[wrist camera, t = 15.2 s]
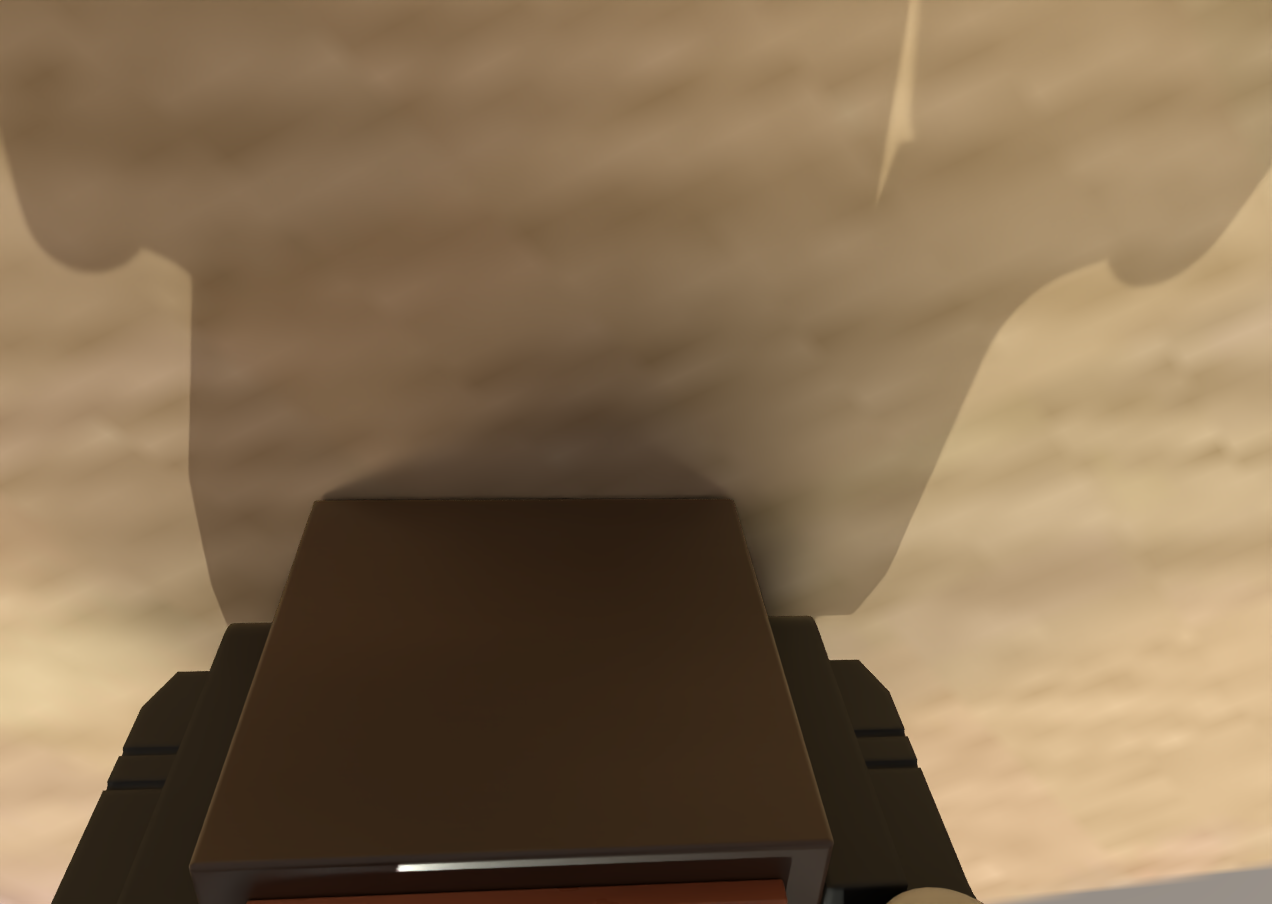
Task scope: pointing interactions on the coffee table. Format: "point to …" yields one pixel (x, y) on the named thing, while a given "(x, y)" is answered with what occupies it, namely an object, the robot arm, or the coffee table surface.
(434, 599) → the red-topped brown block
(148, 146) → the coffee table surface
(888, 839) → the robot arm
